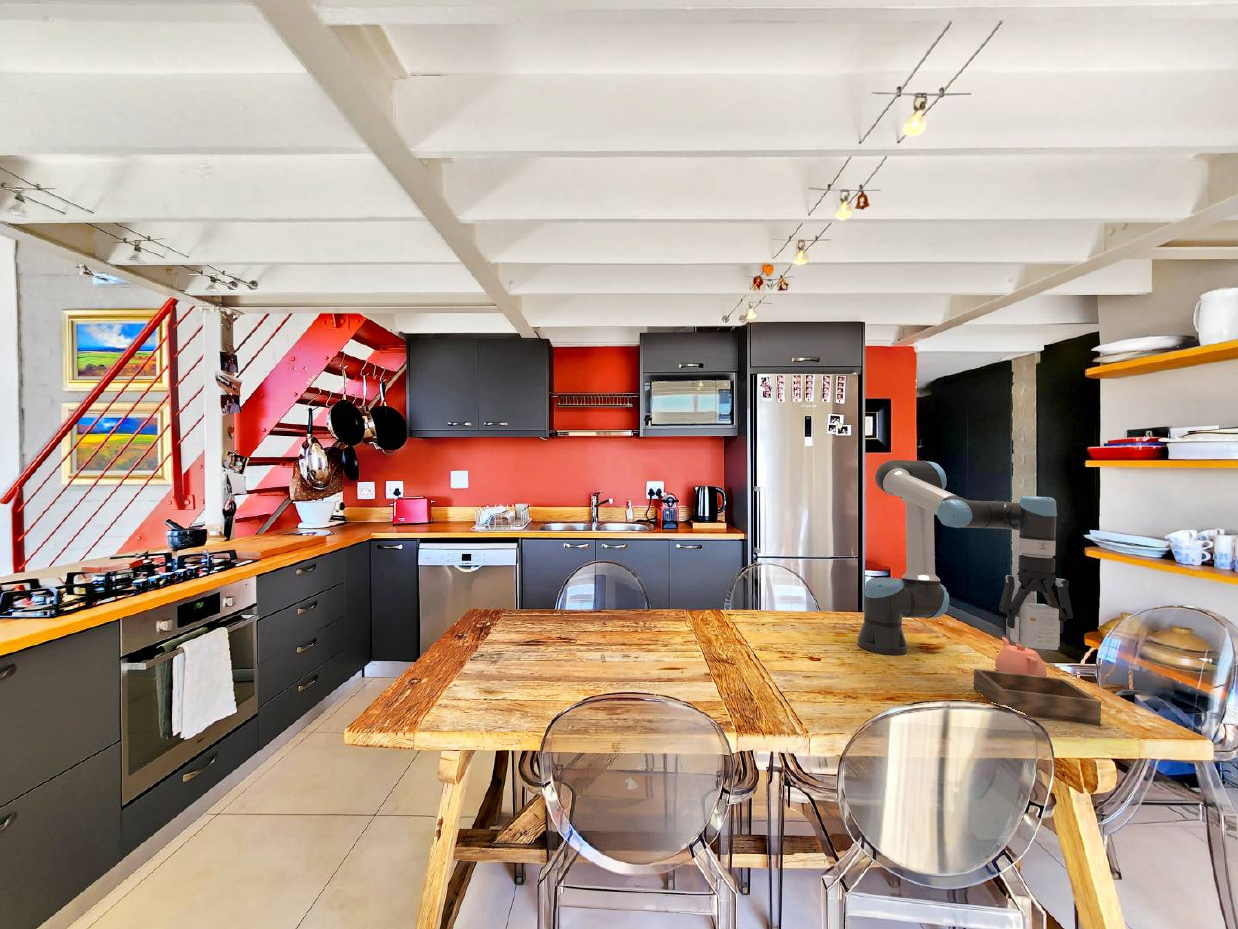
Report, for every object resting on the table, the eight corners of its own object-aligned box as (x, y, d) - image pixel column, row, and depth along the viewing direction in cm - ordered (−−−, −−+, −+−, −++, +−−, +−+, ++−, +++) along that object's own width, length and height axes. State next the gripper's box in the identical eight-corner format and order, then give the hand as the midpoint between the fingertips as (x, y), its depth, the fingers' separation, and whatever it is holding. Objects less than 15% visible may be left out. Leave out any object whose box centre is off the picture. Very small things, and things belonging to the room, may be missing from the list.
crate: (999, 712, 133) (1000, 690, 133) (973, 688, 148) (974, 668, 148) (1100, 725, 128) (1101, 702, 128) (1062, 699, 143) (1063, 678, 143)
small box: (1043, 643, 140) (1044, 603, 140) (1058, 650, 135) (1059, 609, 135) (1011, 641, 141) (1012, 601, 141) (1025, 648, 135) (1026, 607, 136)
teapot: (1012, 684, 153) (1013, 651, 153) (981, 662, 170) (982, 633, 170) (1059, 689, 150) (1060, 655, 150) (1024, 666, 168) (1024, 636, 168)
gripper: (997, 554, 137) (995, 642, 137) (1093, 560, 132) (1091, 652, 132) (984, 550, 144) (982, 634, 144) (1075, 556, 140) (1073, 643, 139)
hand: (1034, 642), depth 138 cm, fingers closed on small box, 8 cm apart
